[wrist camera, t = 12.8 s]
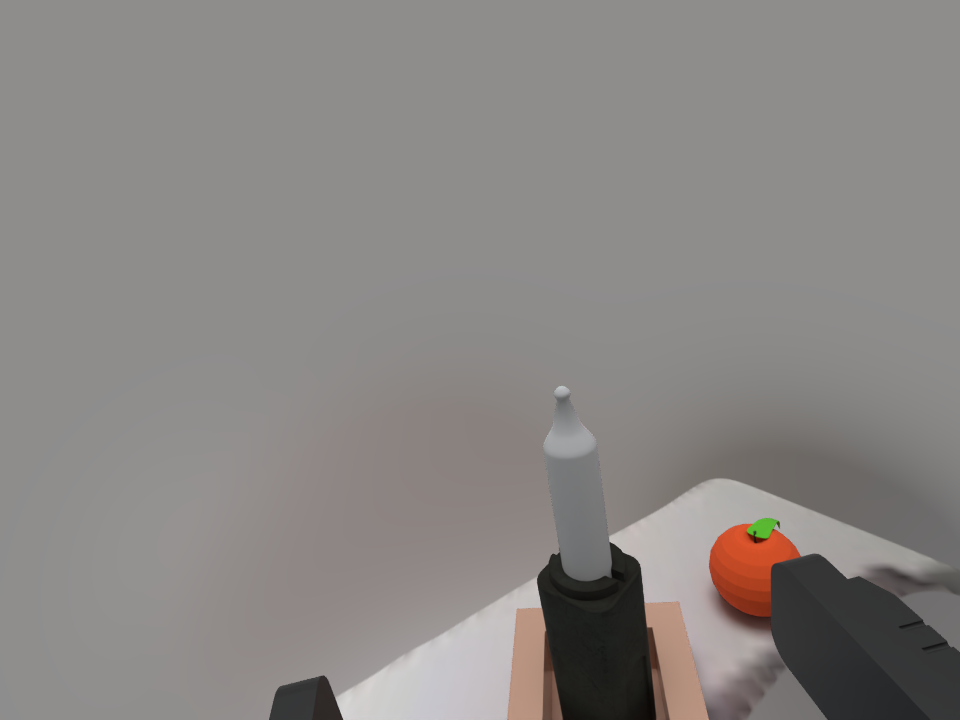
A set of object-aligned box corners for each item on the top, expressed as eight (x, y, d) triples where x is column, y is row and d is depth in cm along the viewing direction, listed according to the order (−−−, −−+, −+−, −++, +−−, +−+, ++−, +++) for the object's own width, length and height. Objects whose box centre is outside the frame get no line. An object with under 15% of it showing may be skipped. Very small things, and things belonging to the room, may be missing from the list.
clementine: (738, 554, 52) (737, 488, 49) (823, 587, 47) (826, 515, 44) (695, 609, 47) (690, 539, 45) (784, 653, 42) (784, 576, 40)
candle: (597, 674, 42) (550, 362, 33) (662, 711, 39) (629, 373, 30) (557, 730, 39) (493, 399, 30) (625, 776, 35) (574, 416, 27)
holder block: (516, 825, 35) (503, 770, 33) (526, 656, 46) (516, 608, 44) (725, 830, 33) (722, 771, 31) (682, 652, 44) (678, 601, 42)
